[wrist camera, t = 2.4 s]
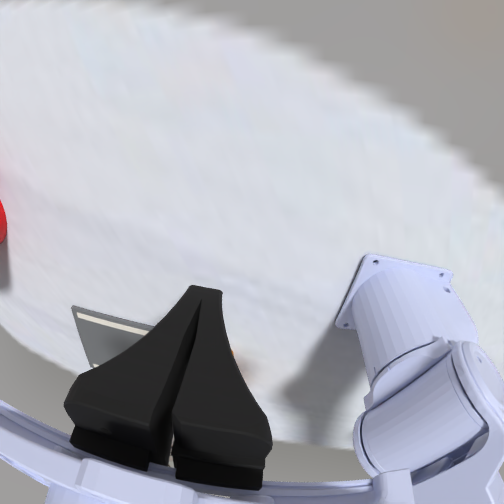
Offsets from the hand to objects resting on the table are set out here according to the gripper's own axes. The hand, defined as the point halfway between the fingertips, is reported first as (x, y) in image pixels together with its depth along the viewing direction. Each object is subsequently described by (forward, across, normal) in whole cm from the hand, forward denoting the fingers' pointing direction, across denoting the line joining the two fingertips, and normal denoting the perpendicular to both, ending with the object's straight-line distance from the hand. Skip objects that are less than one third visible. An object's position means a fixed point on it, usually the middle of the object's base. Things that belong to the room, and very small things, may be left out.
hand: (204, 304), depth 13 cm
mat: (+10, +9, +20) cm, 24 cm away
